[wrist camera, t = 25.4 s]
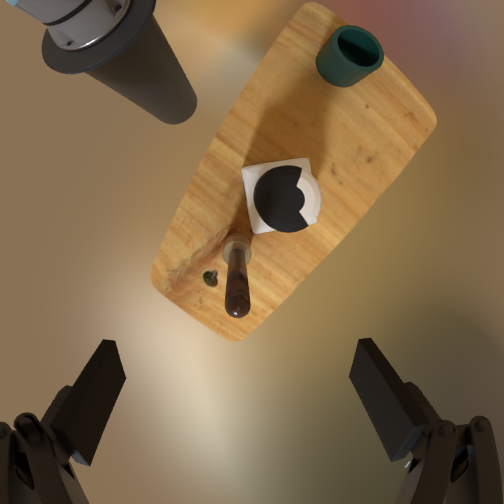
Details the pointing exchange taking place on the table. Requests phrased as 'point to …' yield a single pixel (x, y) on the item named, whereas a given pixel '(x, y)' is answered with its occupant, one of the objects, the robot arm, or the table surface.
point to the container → (281, 195)
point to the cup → (349, 56)
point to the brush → (237, 274)
